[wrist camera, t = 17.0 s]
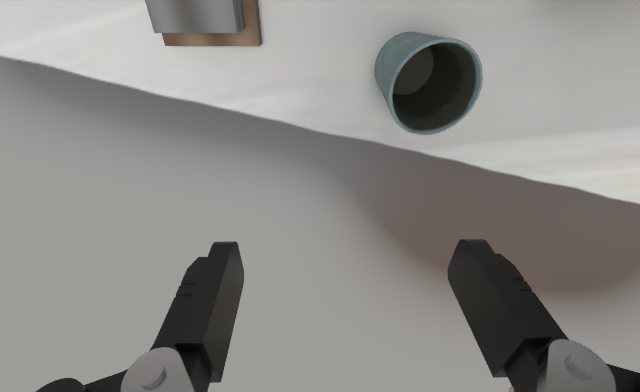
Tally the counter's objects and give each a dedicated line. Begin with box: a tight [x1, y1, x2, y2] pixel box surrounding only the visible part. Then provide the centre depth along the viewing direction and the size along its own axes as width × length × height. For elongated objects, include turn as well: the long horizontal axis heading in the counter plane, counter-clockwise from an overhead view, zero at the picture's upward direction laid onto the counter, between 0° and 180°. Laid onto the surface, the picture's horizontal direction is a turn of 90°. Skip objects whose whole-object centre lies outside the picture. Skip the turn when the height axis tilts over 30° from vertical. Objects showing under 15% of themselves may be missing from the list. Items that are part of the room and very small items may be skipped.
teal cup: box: [375, 32, 482, 135], centre depth 36 cm, size 10×10×12 cm
